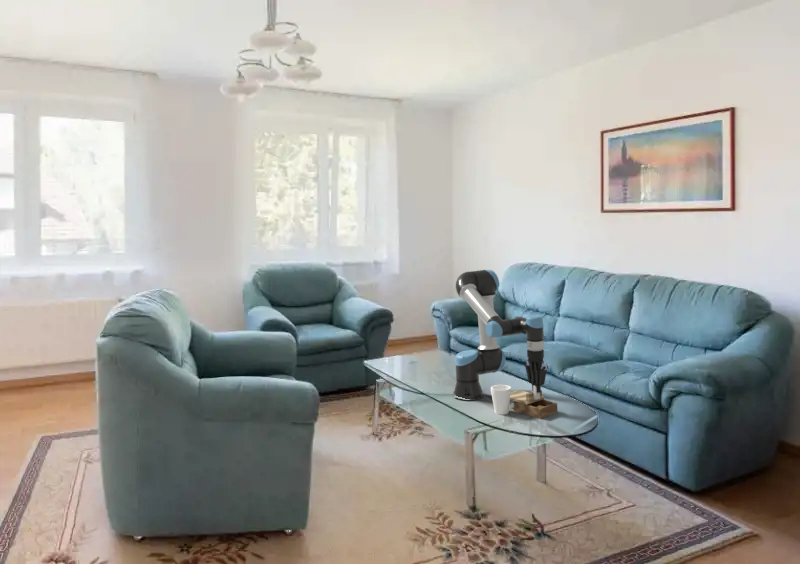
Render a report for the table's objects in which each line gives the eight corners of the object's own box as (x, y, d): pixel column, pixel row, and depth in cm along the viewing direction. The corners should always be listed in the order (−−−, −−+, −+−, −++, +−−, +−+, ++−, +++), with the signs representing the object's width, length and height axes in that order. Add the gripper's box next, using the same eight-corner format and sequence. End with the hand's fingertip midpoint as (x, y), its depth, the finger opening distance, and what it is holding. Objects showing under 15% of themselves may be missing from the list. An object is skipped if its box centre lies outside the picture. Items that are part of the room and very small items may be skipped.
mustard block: (535, 413, 278) (534, 407, 278) (539, 411, 281) (539, 405, 281) (544, 415, 275) (544, 409, 274) (549, 413, 278) (549, 407, 277)
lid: (501, 397, 290) (501, 388, 289) (518, 391, 297) (518, 382, 296) (526, 404, 277) (526, 395, 276) (544, 398, 284) (543, 389, 283)
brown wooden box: (513, 412, 284) (513, 401, 284) (531, 406, 291) (530, 395, 291) (540, 421, 271) (539, 409, 271) (557, 414, 278) (557, 403, 278)
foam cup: (498, 419, 277) (497, 391, 275) (487, 413, 285) (486, 386, 284) (515, 415, 281) (515, 388, 279) (504, 409, 289) (503, 383, 287)
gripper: (519, 348, 280) (520, 397, 283) (540, 352, 269) (542, 403, 272) (530, 345, 284) (531, 394, 287) (551, 350, 274) (553, 400, 277)
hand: (536, 398), depth 280 cm, fingers closed
